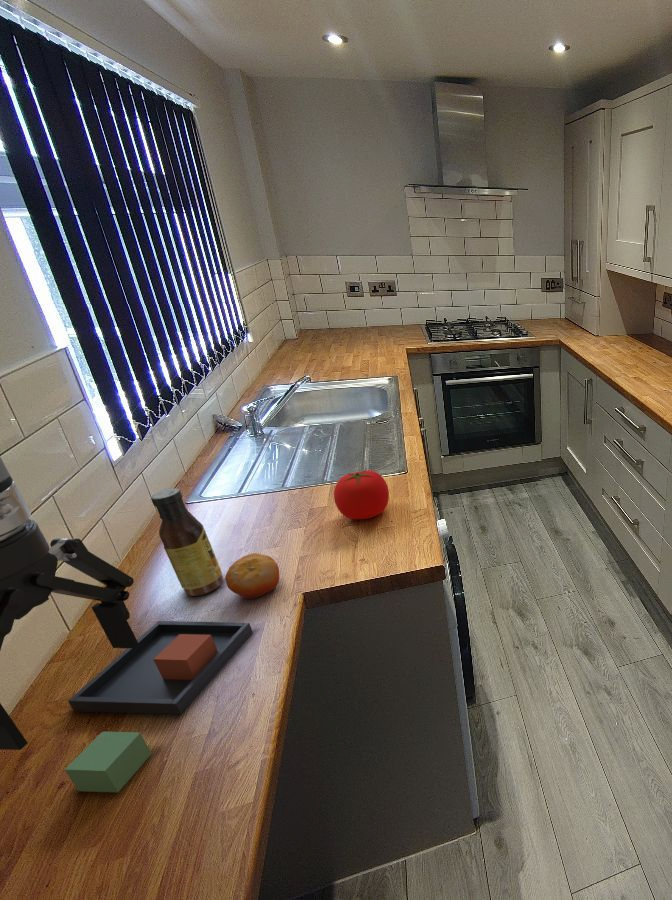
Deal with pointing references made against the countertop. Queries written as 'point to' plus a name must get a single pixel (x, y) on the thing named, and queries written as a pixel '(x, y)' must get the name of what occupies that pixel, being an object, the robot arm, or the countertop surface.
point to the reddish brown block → (185, 656)
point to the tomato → (361, 494)
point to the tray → (157, 671)
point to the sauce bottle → (186, 544)
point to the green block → (109, 762)
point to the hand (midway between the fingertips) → (74, 691)
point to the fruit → (252, 575)
